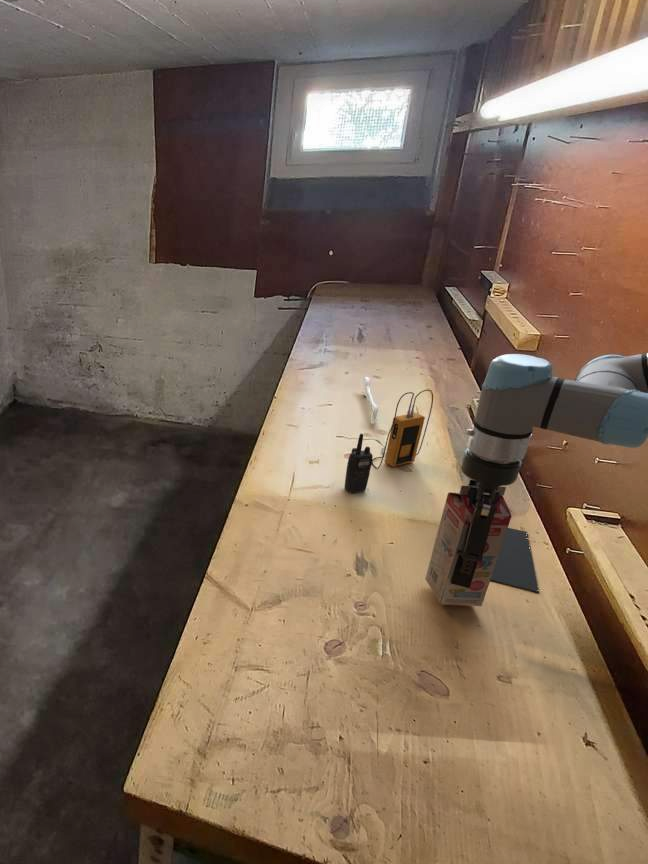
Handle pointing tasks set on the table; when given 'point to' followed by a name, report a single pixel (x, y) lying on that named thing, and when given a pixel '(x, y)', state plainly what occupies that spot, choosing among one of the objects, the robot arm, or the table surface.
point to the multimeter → (404, 436)
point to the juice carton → (452, 539)
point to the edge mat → (515, 562)
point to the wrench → (370, 399)
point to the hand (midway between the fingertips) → (459, 568)
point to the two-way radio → (358, 468)
